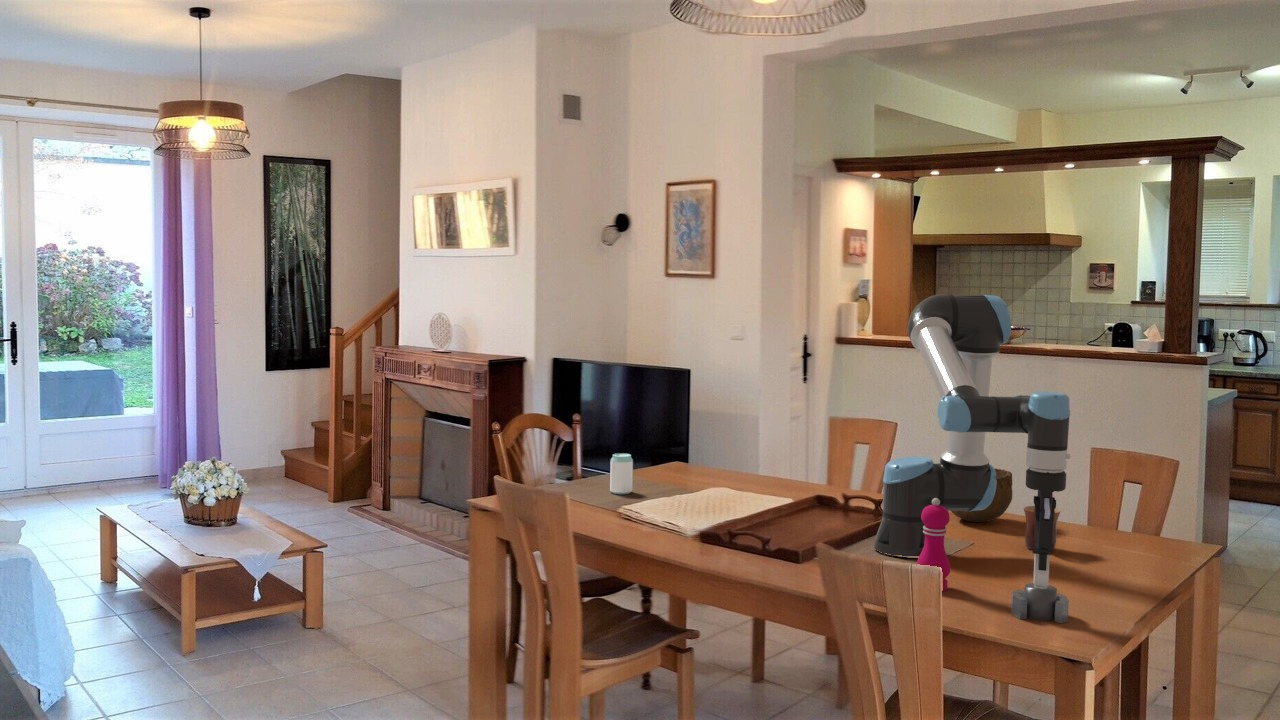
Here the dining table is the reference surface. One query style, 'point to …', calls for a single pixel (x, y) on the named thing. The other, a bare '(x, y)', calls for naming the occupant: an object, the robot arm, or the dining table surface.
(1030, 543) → the mug
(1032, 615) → the cap
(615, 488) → the can
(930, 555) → the pepper mill
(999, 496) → the bowl
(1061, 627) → the dining table surface
